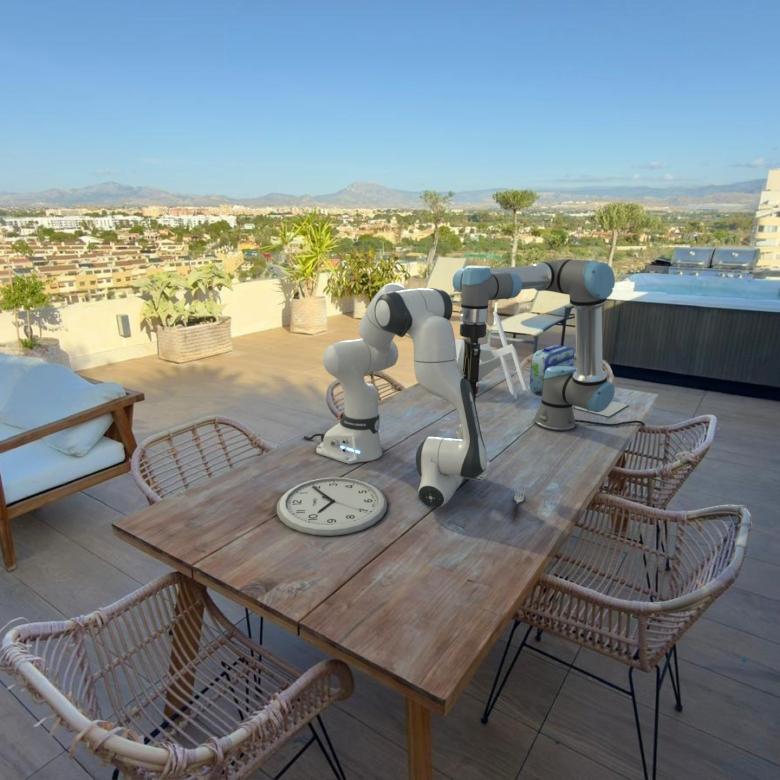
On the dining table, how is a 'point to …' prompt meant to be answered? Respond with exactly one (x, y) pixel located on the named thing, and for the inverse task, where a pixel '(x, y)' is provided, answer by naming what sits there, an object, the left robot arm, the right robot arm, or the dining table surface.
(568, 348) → the lunch box
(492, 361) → the white plastic object
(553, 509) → the dining table surface
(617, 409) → the invitation card
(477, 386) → the lid
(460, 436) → the jar
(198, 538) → the dining table surface
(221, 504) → the dining table surface
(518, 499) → the fork
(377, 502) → the wall clock
